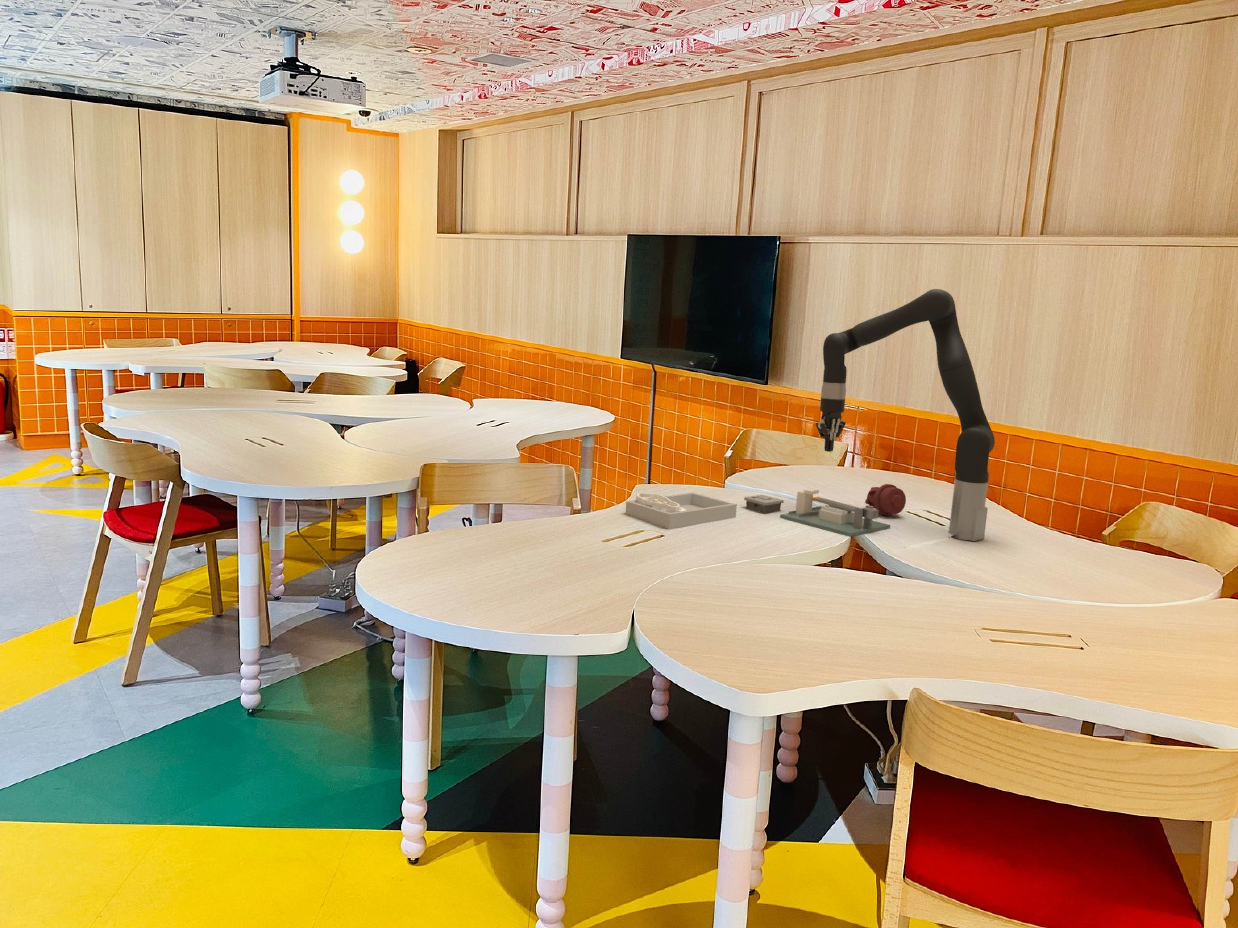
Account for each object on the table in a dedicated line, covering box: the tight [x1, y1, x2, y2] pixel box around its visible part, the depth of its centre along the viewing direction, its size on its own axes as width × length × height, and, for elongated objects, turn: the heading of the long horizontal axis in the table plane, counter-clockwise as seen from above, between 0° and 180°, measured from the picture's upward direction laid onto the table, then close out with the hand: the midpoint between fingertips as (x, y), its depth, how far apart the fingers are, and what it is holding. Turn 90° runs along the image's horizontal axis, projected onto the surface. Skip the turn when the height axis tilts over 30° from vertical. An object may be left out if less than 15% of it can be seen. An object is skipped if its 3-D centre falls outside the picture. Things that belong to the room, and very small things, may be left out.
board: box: [779, 504, 891, 537], centre depth 284 cm, size 26×20×7 cm
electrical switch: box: [743, 494, 784, 514], centre depth 297 cm, size 9×5×9 cm
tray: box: [625, 492, 738, 530], centre depth 282 cm, size 19×28×4 cm
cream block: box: [795, 488, 820, 514], centre depth 289 cm, size 5×4×8 cm
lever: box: [812, 496, 880, 520], centre depth 282 cm, size 22×3×2 cm, turn 41°
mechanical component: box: [864, 483, 907, 516], centre depth 300 cm, size 12×10×10 cm
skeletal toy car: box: [635, 492, 686, 513], centre depth 278 cm, size 20×11×7 cm, turn 20°
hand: (828, 451), depth 298 cm, fingers closed
